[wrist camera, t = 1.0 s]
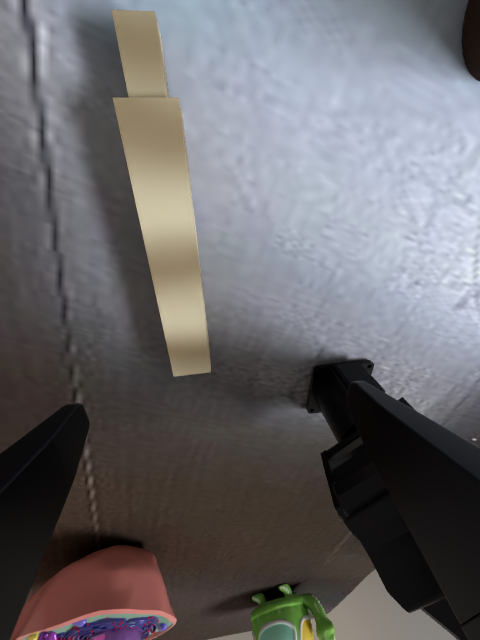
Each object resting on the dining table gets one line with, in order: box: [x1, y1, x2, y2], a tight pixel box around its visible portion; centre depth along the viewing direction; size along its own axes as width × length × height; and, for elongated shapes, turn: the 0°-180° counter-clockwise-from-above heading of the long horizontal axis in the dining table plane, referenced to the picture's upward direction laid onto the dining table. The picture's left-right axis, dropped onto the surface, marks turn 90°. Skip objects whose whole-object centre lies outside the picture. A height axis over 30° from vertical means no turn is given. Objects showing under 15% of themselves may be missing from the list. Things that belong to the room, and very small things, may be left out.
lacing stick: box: [112, 10, 211, 377], centre depth 16 cm, size 20×3×3 cm, turn 2°
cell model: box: [10, 545, 177, 640], centre depth 32 cm, size 17×20×11 cm
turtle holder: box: [250, 584, 335, 640], centre depth 52 cm, size 12×18×12 cm
